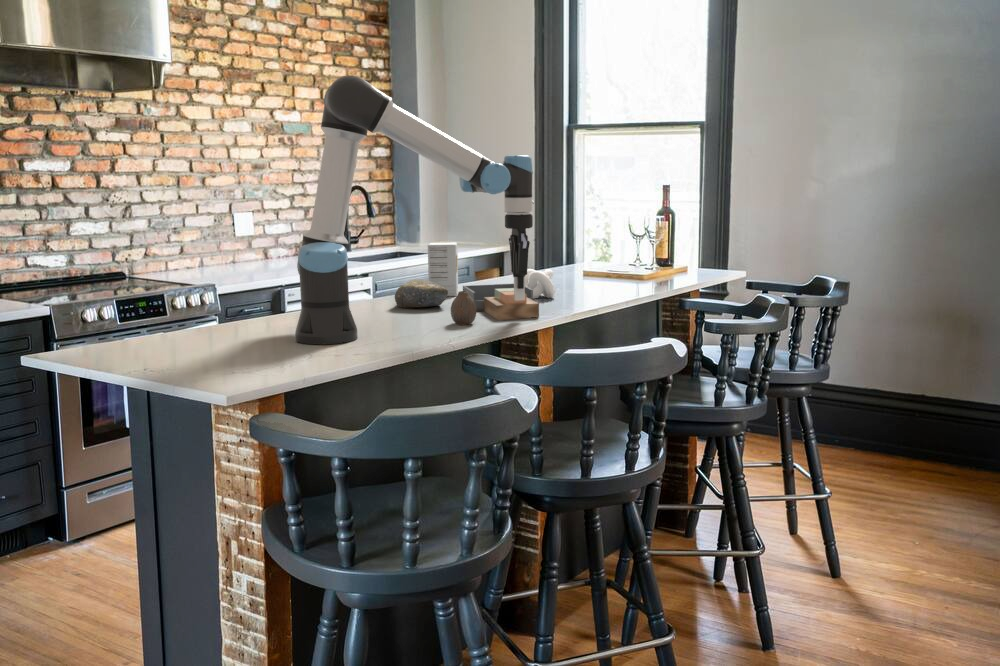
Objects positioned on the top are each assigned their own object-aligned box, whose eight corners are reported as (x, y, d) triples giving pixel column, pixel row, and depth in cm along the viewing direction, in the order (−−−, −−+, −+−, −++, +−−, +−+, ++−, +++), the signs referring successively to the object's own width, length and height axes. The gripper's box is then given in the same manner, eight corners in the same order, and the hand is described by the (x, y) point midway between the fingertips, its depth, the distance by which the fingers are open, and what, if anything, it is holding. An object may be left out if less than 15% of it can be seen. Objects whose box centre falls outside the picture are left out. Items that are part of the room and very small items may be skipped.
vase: (473, 326, 242) (472, 293, 240) (448, 325, 243) (447, 293, 242) (479, 321, 249) (478, 290, 247) (454, 321, 250) (453, 289, 248)
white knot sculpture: (566, 298, 290) (566, 270, 288) (535, 301, 283) (535, 272, 281) (544, 294, 299) (544, 266, 297) (514, 297, 292) (514, 269, 291)
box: (473, 311, 266) (473, 292, 265) (463, 303, 281) (462, 285, 280) (533, 308, 270) (532, 289, 269) (519, 300, 285) (519, 283, 284)
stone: (413, 301, 287) (413, 276, 285) (459, 306, 276) (459, 280, 274) (382, 307, 276) (381, 281, 274) (428, 313, 264) (428, 285, 263)
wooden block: (497, 319, 251) (496, 305, 250) (484, 310, 266) (483, 297, 266) (538, 317, 254) (538, 303, 253) (523, 308, 269) (523, 295, 269)
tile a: (505, 303, 253) (505, 295, 253) (500, 300, 259) (500, 292, 258) (526, 302, 254) (526, 294, 254) (520, 299, 260) (520, 291, 260)
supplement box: (457, 296, 296) (455, 244, 293) (428, 296, 296) (427, 244, 293) (458, 292, 305) (457, 241, 302) (431, 292, 305) (429, 242, 302)
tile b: (499, 300, 260) (499, 291, 259) (494, 297, 265) (494, 288, 265) (519, 299, 261) (519, 290, 261) (514, 296, 267) (514, 287, 266)
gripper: (538, 214, 241) (539, 302, 245) (525, 211, 253) (526, 296, 257) (511, 215, 239) (512, 304, 243) (499, 212, 251) (500, 297, 256)
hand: (519, 299), depth 250 cm, fingers closed
